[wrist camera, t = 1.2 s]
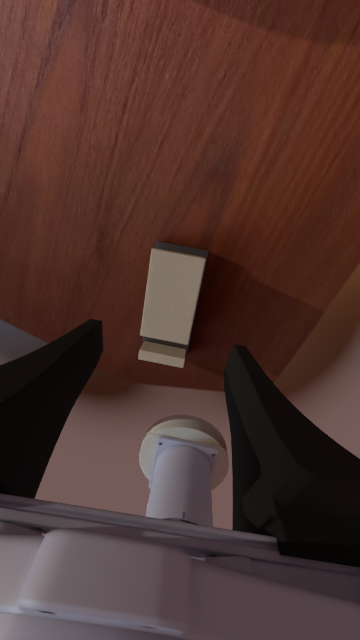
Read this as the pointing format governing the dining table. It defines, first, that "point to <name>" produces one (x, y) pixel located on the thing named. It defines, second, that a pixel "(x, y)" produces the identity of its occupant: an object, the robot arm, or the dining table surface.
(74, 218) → the dining table surface
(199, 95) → the dining table surface
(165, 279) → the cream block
